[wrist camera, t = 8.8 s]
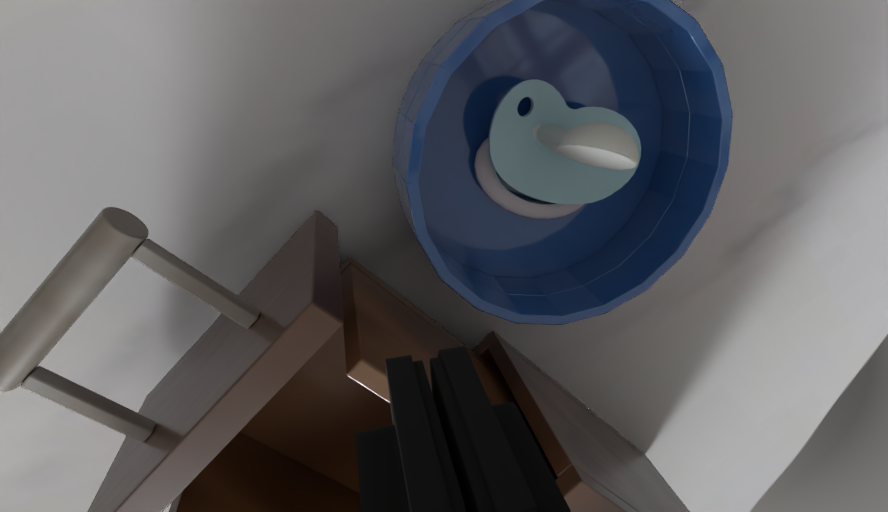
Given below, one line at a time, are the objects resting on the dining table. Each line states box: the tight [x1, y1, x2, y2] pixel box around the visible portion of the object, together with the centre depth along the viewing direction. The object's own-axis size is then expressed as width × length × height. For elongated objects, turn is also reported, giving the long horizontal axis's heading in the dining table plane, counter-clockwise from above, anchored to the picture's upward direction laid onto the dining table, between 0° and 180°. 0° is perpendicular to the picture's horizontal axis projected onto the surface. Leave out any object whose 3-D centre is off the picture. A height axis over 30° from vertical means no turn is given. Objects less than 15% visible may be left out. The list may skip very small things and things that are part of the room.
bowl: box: [393, 0, 733, 325], centre depth 22 cm, size 14×14×4 cm
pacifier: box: [474, 79, 641, 219], centre depth 21 cm, size 7×6×6 cm
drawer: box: [0, 207, 558, 512], centre depth 21 cm, size 21×12×9 cm, turn 45°
